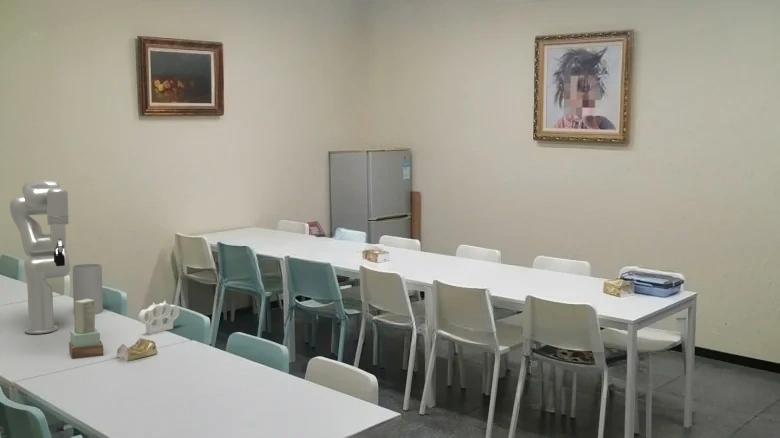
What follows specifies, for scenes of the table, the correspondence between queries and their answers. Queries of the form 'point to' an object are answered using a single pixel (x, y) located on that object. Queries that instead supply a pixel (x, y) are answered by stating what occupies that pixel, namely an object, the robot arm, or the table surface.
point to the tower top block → (85, 338)
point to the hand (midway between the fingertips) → (59, 264)
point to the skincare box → (84, 316)
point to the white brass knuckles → (159, 317)
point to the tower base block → (85, 351)
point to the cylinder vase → (88, 284)
